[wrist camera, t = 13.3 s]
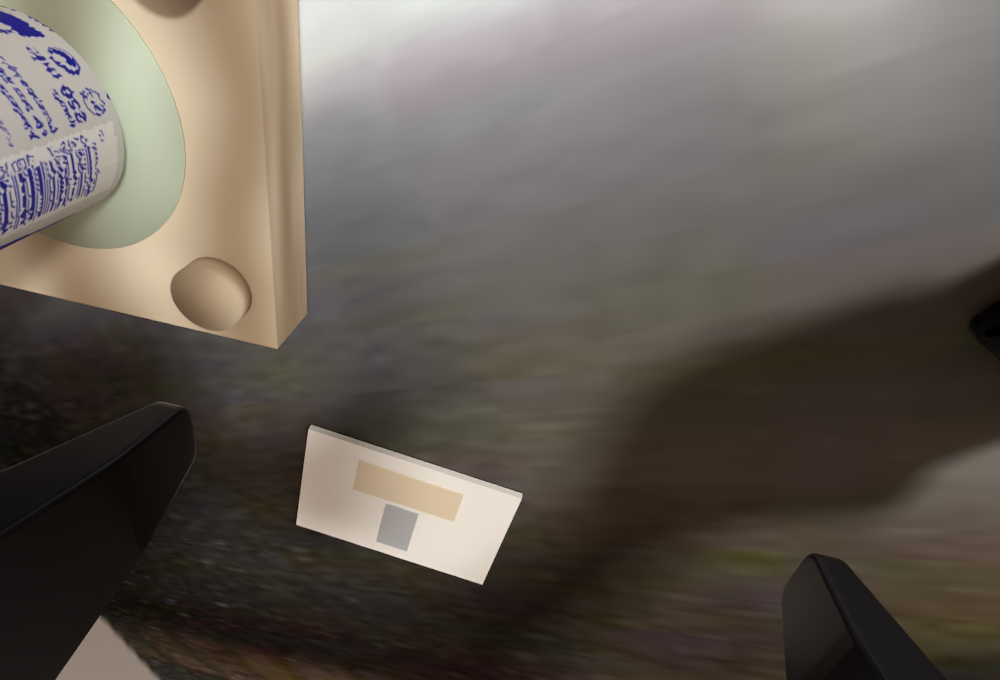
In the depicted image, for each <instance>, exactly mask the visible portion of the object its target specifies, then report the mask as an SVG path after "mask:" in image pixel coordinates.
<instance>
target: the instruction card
mask: <svg viewBox="0 0 1000 680" xmlns="http://www.w3.org/2000/svg"><path fill="white" fill-rule="evenodd" d="M521 499H522V493H519V492H516V491H513V490H510V489H507V488H504V487H501V486H498V485H495V484H492V483H489V482H486V481H482V480H479V479H476V478H473V477H470V476H467V475H464V474H461V473H458V472H455V471H452V470H449V469H446V468H443V467H440V466H436V465H433V464H430V463H427V462H424V461H421V460H418V459H415V458H412V457H409V456H406V455H403V454H400V453H397V452H393V451H390V450H387V449H384V448H381V447H378V446H375V445H372V444H369V443H366V442H363V441H360V440H357V439H354V438H351V437H347V436H344V435H341V434H338V433H335V432H332V431H329V430H326V429H323V428H320V427H317V426H314V425H311V426H310V427H309V429H308V436H307V444H306V451H305V459H304V467H303V475H302V483H301V490H300V498H299V506H298V514H297V522H296V525H299V526H302V527H305V528H308V529H311V530H314V531H318V532H321V533H324V534H327V535H330V536H333V537H336V538H339V539H342V540H345V541H349V542H352V543H355V544H358V545H361V546H364V547H367V548H370V549H373V550H376V551H380V552H383V553H386V554H389V555H392V556H395V557H398V558H401V559H404V560H407V561H411V562H414V563H417V564H420V565H423V566H426V567H429V568H432V569H435V570H438V571H442V572H445V573H448V574H451V575H454V576H457V577H460V578H463V579H466V580H469V581H473V582H476V583H479V584H483V582H484V580H485V578H486V575H487V573H488V571H489V569H490V567H491V565H492V562H493V560H494V558H495V556H496V554H497V551H498V549H499V547H500V545H501V543H502V541H503V538H504V536H505V534H506V532H507V530H508V527H509V525H510V523H511V521H512V519H513V517H514V514H515V512H516V510H517V508H518V506H519V503H520V501H521Z"/></svg>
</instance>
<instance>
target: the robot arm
mask: <svg viewBox="0 0 1000 680" xmlns="http://www.w3.org/2000/svg"><path fill="white" fill-rule="evenodd" d="M992 324H996V326H995V327H994V328H993V329H991V330H988V331H985V329H986V328H987V327H988V326H990V325H992ZM969 330H970V332H971V333H972V334H973V336H974V337H975V338H976V339H977V340H978V341H979V342H980V343H981V344H982V345H984V346H985V347H986V348H987V349H988V350H989V351H990V352H991V353H993V354H994V355H995V356H996V357H997V358H998V359H999V360H1000V301H998V302H997V303H995V304H994V305H992V306H991V307H989V308H988V309H986V310H985V311H983V312H982V313H980V314H979V315H977V316H976V317H975V318H974V319H973V320H972V321H971V323H970V326H969ZM195 455H196V441H195V436H194V430H193V425H192V420H191V415H190V412H189V411H188V409H187V408H186V407H184V406H180V405H175V404H171V403H167V402H156V403H153V404H150V405H148V406H146V407H144V408H141V409H139V410H137V411H135V412H132V413H130V414H128V415H126V416H124V417H121V418H119V419H117V420H115V421H112V422H110V423H108V424H106V425H103V426H101V427H99V428H97V429H94V430H92V431H90V432H88V433H86V434H83V435H81V436H79V437H77V438H74V439H72V440H70V441H68V442H65V443H63V444H61V445H59V446H56V447H54V448H52V449H50V450H48V451H45V452H43V453H41V454H39V455H36V456H34V457H32V458H30V459H27V460H25V461H23V462H21V463H18V464H16V465H14V466H12V467H10V468H7V469H5V470H3V471H1V472H0V680H55V679H56V678H57V676H58V675H59V674H60V672H61V671H62V669H63V667H64V666H65V665H66V664H67V662H68V661H69V659H70V658H71V656H72V655H73V653H74V652H75V651H76V649H77V647H78V646H79V645H80V643H81V642H82V640H83V639H84V638H85V636H86V635H87V633H88V632H89V630H90V629H91V628H92V626H93V625H94V623H95V622H96V620H97V619H98V617H99V616H100V615H101V613H102V612H103V610H104V609H105V607H106V606H107V605H108V603H109V602H110V600H111V599H112V597H113V596H114V594H115V593H116V592H117V590H118V589H119V587H120V586H121V584H122V583H123V582H124V580H125V579H126V577H127V576H128V574H129V573H130V571H131V570H132V568H133V567H134V565H135V564H136V562H137V561H138V559H139V558H140V556H141V555H142V553H143V552H144V550H145V548H146V546H147V545H148V543H149V541H150V540H151V538H152V536H153V534H154V532H155V531H156V529H157V527H158V525H159V523H160V522H161V520H162V518H163V516H164V514H165V512H166V511H167V509H168V507H169V505H170V503H171V502H172V500H173V498H174V496H175V494H176V493H177V491H178V489H179V487H180V485H181V484H182V482H183V480H184V478H185V476H186V474H187V473H188V471H189V469H190V467H191V465H192V463H193V461H194V459H195ZM782 615H783V630H784V645H785V660H786V675H787V680H947V679H946V678H945V677H944V676H943V675H942V674H941V672H940V671H939V670H938V669H937V668H936V667H935V665H934V664H933V663H932V662H931V661H930V660H929V659H928V657H927V656H926V655H925V654H924V653H923V652H922V650H921V649H920V648H919V647H918V646H917V645H916V644H915V642H914V641H913V640H912V639H911V638H910V637H909V635H908V634H907V633H906V632H905V631H904V630H903V628H902V627H901V626H900V625H899V624H898V623H897V622H896V620H895V619H894V618H893V617H892V616H891V615H890V613H889V612H888V611H887V610H886V609H885V608H884V606H883V605H882V604H881V603H880V602H879V601H878V600H877V598H876V597H875V596H874V595H873V594H872V593H871V591H870V590H869V589H868V588H867V587H866V586H865V585H864V583H863V582H862V581H861V580H860V579H859V578H858V576H857V575H856V574H855V573H854V572H853V571H852V569H851V568H850V567H849V566H848V565H847V564H846V563H845V562H843V561H842V560H840V559H838V558H834V557H829V556H825V555H821V554H817V553H812V554H810V555H808V556H807V557H806V558H805V559H804V560H803V562H802V563H801V564H800V566H799V567H798V569H797V570H796V571H795V573H794V574H793V576H792V577H791V578H790V580H789V581H788V583H787V584H786V586H785V588H784V590H783V595H782Z"/></svg>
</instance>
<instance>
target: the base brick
mask: <svg viewBox="0 0 1000 680" xmlns="http://www.w3.org/2000/svg"><path fill="white" fill-rule="evenodd" d="M0 6H4V7H8V8H12V9H14V10H17V11H19V12H22V13H24V14H26V15H28V16H30V17H32V18H34V19H36V20H37V21H39V22H41V23H42V24H44V25H45V26H47V27H49V28H50V29H52V30H53V31H54V32H55V33H57V34H58V35H59V36H60V37H62V38H63V39H64V40H65V41H66V42H67V43H68V44H69V45H70V46H71V47H73V48H74V49H75V50H76V51H77V52H78V54H79V55H80V56H81V57H82V58H83V59H84V60H85V61H86V63H87V64H88V65H89V66H90V68H91V69H92V70H93V71H94V73H95V74H96V76H97V77H98V79H99V80H100V82H101V84H102V85H103V87H104V88H105V90H106V92H107V93H108V95H109V97H110V99H111V101H112V104H113V106H114V108H115V111H116V113H117V116H118V119H119V122H120V126H121V130H122V135H123V140H124V165H123V170H122V174H121V177H120V179H119V182H118V183H117V185H116V187H115V188H114V190H113V191H112V192H111V193H110V194H109V195H108V196H107V197H106V198H104V199H103V200H101V201H100V202H98V203H96V204H94V205H92V206H90V207H88V208H85V209H83V210H81V211H79V212H77V213H75V214H73V215H71V216H69V217H67V218H65V219H63V220H61V221H59V222H57V223H55V224H53V225H51V226H49V227H46V228H44V229H42V230H40V231H38V232H36V233H34V234H32V235H30V236H28V237H26V238H24V239H22V240H20V241H18V242H16V243H14V244H12V245H10V246H7V247H5V248H3V249H1V250H0V284H1V285H5V286H10V287H14V288H18V289H22V290H27V291H31V292H35V293H40V294H44V295H48V296H52V297H57V298H61V299H65V300H70V301H74V302H78V303H82V304H87V305H91V306H95V307H100V308H104V309H108V310H113V311H117V312H121V313H125V314H130V315H134V316H138V317H143V318H147V319H151V320H155V321H160V322H164V323H168V324H173V325H177V326H181V327H185V328H190V329H194V330H198V331H203V332H207V333H211V334H215V335H220V336H224V337H228V338H233V339H237V340H241V341H246V342H250V343H254V344H258V345H263V346H267V347H271V348H276V349H278V348H279V346H280V345H281V344H282V343H283V342H284V341H285V339H286V338H287V337H288V336H289V335H290V333H291V332H292V331H293V330H294V329H295V327H296V326H297V325H298V324H299V323H300V322H301V320H302V319H303V318H304V317H305V316H306V314H307V290H306V253H305V216H304V178H303V141H302V103H301V66H300V29H299V0H0Z"/></svg>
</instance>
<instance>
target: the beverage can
mask: <svg viewBox="0 0 1000 680" xmlns="http://www.w3.org/2000/svg"><path fill="white" fill-rule="evenodd" d="M123 165H124V140H123V135H122V130H121V126H120V122H119V119H118V116H117V113H116V111H115V108H114V106H113V104H112V101H111V99H110V97H109V95H108V93H107V92H106V90H105V88H104V87H103V85H102V84H101V82H100V80H99V79H98V77H97V76H96V74H95V73H94V71H93V70H92V69H91V68H90V66H89V65H88V64H87V63H86V61H85V60H84V59H83V58H82V57H81V56H80V55H79V54H78V52H77V51H76V50H75V49H74V48H73V47H71V46H70V45H69V44H68V43H67V42H66V41H65V40H64V39H63V38H62V37H60V36H59V35H58V34H57V33H55V32H54V31H53V30H52V29H50V28H49V27H47V26H45V25H44V24H42V23H41V22H39V21H37V20H36V19H34V18H32V17H30V16H28V15H26V14H24V13H22V12H19V11H17V10H14V9H12V8H8V7H4V6H0V250H1V249H3V248H5V247H7V246H10V245H12V244H14V243H16V242H18V241H20V240H22V239H24V238H26V237H28V236H30V235H32V234H34V233H36V232H38V231H40V230H42V229H44V228H46V227H49V226H51V225H53V224H55V223H57V222H59V221H61V220H63V219H65V218H67V217H69V216H71V215H73V214H75V213H77V212H79V211H81V210H83V209H85V208H88V207H90V206H92V205H94V204H96V203H98V202H100V201H101V200H103V199H104V198H106V197H107V196H108V195H109V194H110V193H111V192H112V191H113V190H114V188H115V187H116V185H117V183H118V182H119V179H120V177H121V174H122V170H123Z"/></svg>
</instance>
